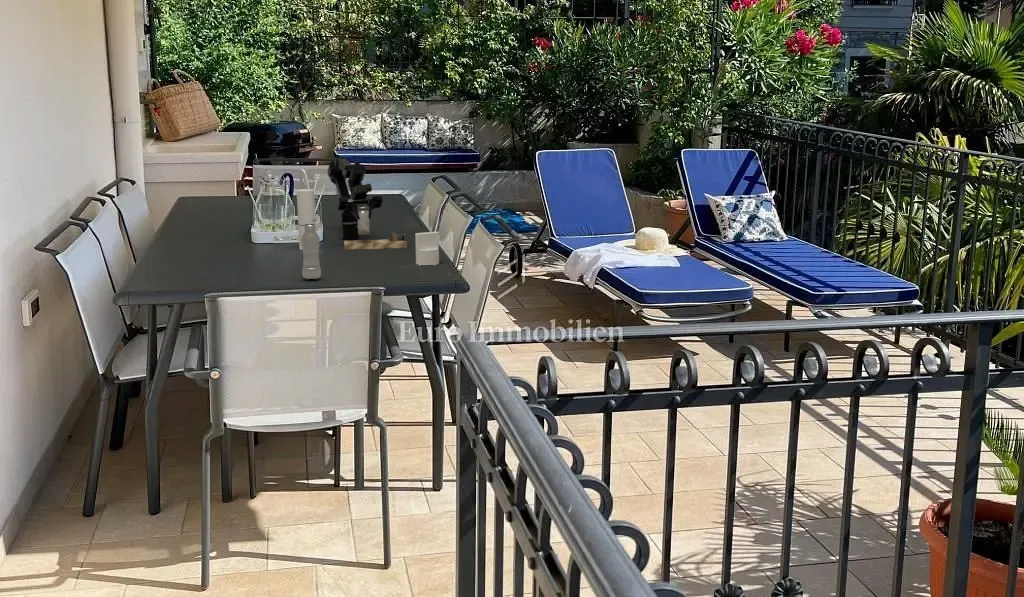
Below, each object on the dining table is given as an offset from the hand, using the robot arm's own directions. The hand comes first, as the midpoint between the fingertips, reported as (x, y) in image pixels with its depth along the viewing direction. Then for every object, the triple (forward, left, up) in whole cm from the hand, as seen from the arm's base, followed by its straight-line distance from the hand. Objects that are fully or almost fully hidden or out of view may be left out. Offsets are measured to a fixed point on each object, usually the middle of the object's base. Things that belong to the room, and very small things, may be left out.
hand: (364, 218), depth 423 cm
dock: (+4, +1, -12) cm, 13 cm away
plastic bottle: (-22, -60, -13) cm, 65 cm away
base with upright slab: (+22, -38, -13) cm, 46 cm away
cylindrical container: (-24, 0, -13) cm, 27 cm away
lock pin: (+14, +1, -10) cm, 17 cm away
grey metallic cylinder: (0, +1, -7) cm, 7 cm away
